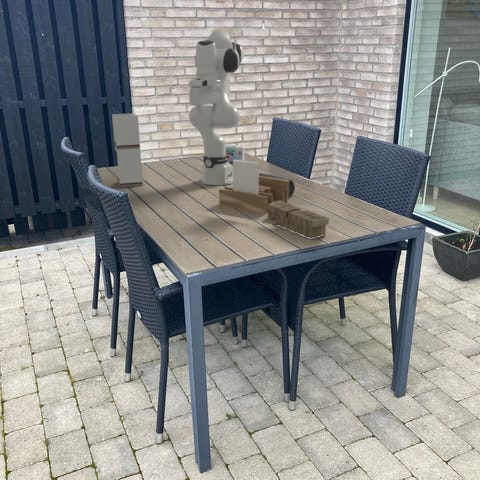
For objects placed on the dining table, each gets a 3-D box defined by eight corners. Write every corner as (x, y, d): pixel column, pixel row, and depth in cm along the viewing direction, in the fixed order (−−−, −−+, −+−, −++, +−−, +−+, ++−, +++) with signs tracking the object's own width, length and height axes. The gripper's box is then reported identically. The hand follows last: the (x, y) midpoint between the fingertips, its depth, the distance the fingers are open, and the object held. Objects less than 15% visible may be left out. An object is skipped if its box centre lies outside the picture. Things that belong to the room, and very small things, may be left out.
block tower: (265, 223, 214) (312, 241, 190) (265, 203, 211) (312, 219, 188) (281, 219, 218) (328, 237, 194) (281, 200, 215) (329, 216, 192)
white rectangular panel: (235, 204, 229) (234, 159, 222) (258, 208, 223) (259, 162, 216) (233, 205, 228) (232, 160, 221) (256, 209, 222) (257, 163, 215)
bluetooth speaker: (246, 193, 253) (246, 173, 249) (258, 189, 259) (258, 169, 255) (282, 202, 238) (283, 180, 235) (295, 198, 244) (295, 177, 241)
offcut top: (244, 188, 235) (244, 183, 235) (270, 193, 228) (270, 187, 227) (236, 191, 231) (236, 186, 230) (263, 196, 223) (263, 190, 222)
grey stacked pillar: (139, 180, 276) (134, 113, 264) (142, 185, 266) (137, 116, 254) (117, 182, 272) (111, 114, 260) (120, 187, 263) (114, 117, 251)
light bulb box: (225, 164, 312) (225, 146, 309) (227, 162, 319) (227, 144, 315) (242, 165, 311) (242, 147, 307) (244, 163, 317) (244, 145, 313)
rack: (243, 197, 245) (243, 173, 241) (288, 205, 233) (288, 180, 229) (218, 208, 229) (218, 182, 225) (265, 217, 217) (266, 190, 213)
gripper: (214, 79, 231) (215, 111, 236) (186, 82, 215) (187, 116, 220) (226, 80, 228) (227, 112, 233) (198, 82, 212) (199, 117, 217)
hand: (207, 114), depth 226 cm, fingers open, 8 cm apart
